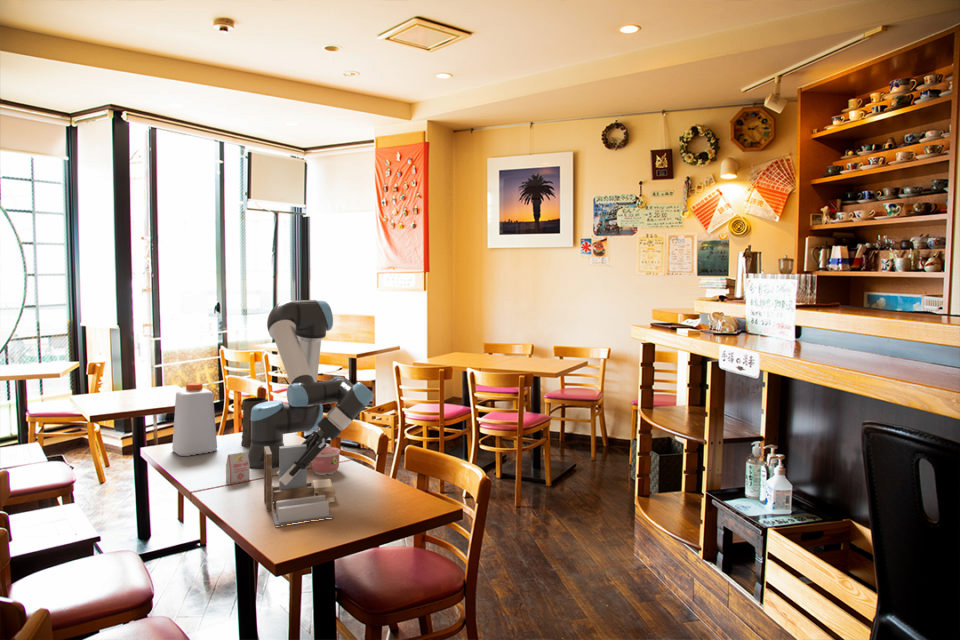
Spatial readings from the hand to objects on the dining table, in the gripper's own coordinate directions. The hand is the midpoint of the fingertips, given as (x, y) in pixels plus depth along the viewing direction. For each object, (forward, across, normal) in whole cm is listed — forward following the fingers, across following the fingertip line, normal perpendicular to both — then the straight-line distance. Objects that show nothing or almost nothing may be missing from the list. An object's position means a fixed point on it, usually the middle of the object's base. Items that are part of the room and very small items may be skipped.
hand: (281, 479), depth 182 cm
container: (-7, +28, -19) cm, 34 cm away
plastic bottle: (+24, +76, +13) cm, 80 cm away
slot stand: (+2, -14, -9) cm, 17 cm away
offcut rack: (+2, 0, -10) cm, 10 cm away
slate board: (+3, 0, -8) cm, 9 cm away
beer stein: (+7, +76, -4) cm, 77 cm away
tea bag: (+14, +28, +2) cm, 32 cm away
